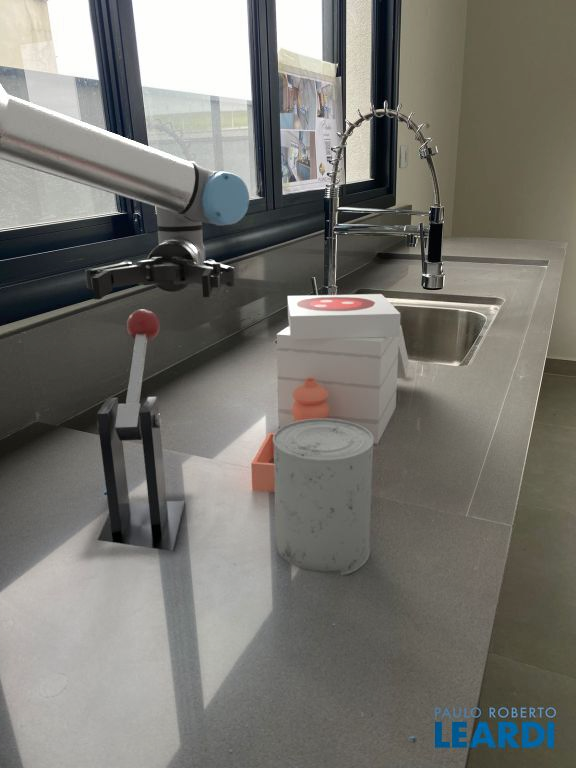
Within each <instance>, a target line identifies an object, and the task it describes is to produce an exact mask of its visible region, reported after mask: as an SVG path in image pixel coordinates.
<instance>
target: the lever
mask: <svg viewBox="0 0 576 768" xmlns="http://www.w3.org/2000/svg"><path fill="white" fill-rule="evenodd" d="M160 326H161V324H160V320H159V318H158V316H157V314H156V313H154V312H152V311H151V310H149V309H145V308H143V309H137V310H134V311H133V312H132V313H130V315H129V316H128V318H127V320H126V330H127V332H128V334H129V335H130V337H131V338H132V339H134V346H133V352H132V357H131V366H130V372H129V380H128V387H127V393H126V399H125V403H118V408H117V415H116V421H115V430H116V432H117V435H118V437H119V440H122V441H142V431H141V421H140V411H141V409H142V407H143V406H142V404H141V403H140V401H141V392H142V385H143V376H144V368H145V362H146V354H147V347H148V342H150V341H152V340H153V339H155V338H156V336H158V334H159V332H160V328H161V327H160Z"/></svg>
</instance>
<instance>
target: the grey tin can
mask: <svg viewBox="0 0 576 768" xmlns="http://www.w3.org/2000/svg"><path fill="white" fill-rule="evenodd" d="M274 433H275V434H274V435H273V444H274V459H273V463H274V480H275V492H274V518H275V521H274V522H275V547H276V550H277V552H278V555H280V556H281V558H282V559H284V561H286V562H287V563H289V564H291V565H293V566H294V567H296V568H301V569H303V570H308V571H314V572H334V571H340V575H341V577H344V576H347V575H350V574H351V575H352V573H355V572H356V571H359V570H360V569H361V568H362V567H363V566H365V564H366V563H367V561H368V560H369V558H370V555H371V554H370V553H371V549H370V548H371V547H370V539H371V538H370V537H371V536H370V534H371V506H372V481H373V479H372V478H373V477H372V476H373V453H374V452H373V449H374V444H373V443H374V438H373V435H372V434H371V433H370V431H369V430H367V429H366V428H364V427H362V426H360V425H358V424H355V423H352V422H349V421H344V420H338V419H319V418H317V419H306V420H300V421H296V422H292V423H289V424H287V425H285V426H283V427H279V428H278V429H277V430H275V432H274Z"/></svg>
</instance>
